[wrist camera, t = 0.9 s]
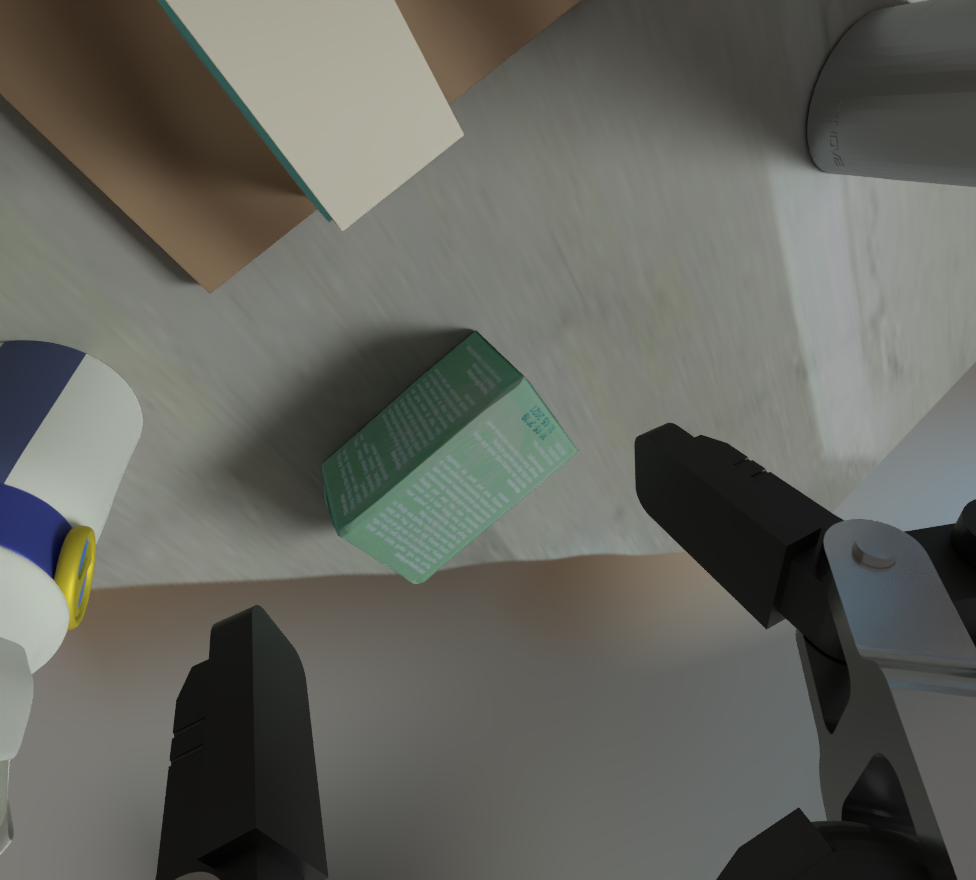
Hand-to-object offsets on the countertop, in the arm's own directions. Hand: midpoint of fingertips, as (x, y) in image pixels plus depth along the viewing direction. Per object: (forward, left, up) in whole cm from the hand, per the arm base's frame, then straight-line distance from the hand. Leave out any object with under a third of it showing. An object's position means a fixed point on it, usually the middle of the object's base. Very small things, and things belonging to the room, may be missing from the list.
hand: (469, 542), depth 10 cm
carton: (-4, -7, -20) cm, 21 cm away
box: (+1, +11, -22) cm, 24 cm away
